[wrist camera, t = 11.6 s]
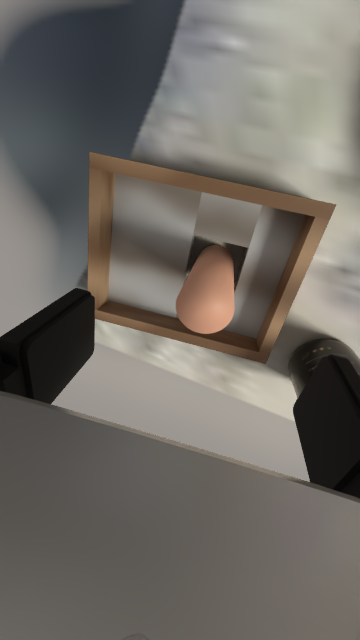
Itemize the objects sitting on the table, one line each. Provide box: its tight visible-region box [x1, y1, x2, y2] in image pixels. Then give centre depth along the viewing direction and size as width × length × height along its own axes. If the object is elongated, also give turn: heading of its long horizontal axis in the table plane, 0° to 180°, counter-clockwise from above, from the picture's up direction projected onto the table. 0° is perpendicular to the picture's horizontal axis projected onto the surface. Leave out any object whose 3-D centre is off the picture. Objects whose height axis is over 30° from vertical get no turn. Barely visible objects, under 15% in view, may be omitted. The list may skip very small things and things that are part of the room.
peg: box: [176, 245, 235, 334], centre depth 20 cm, size 4×4×11 cm
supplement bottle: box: [289, 339, 360, 398], centre depth 23 cm, size 7×7×12 cm
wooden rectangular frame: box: [88, 152, 336, 364], centre depth 23 cm, size 14×18×4 cm
